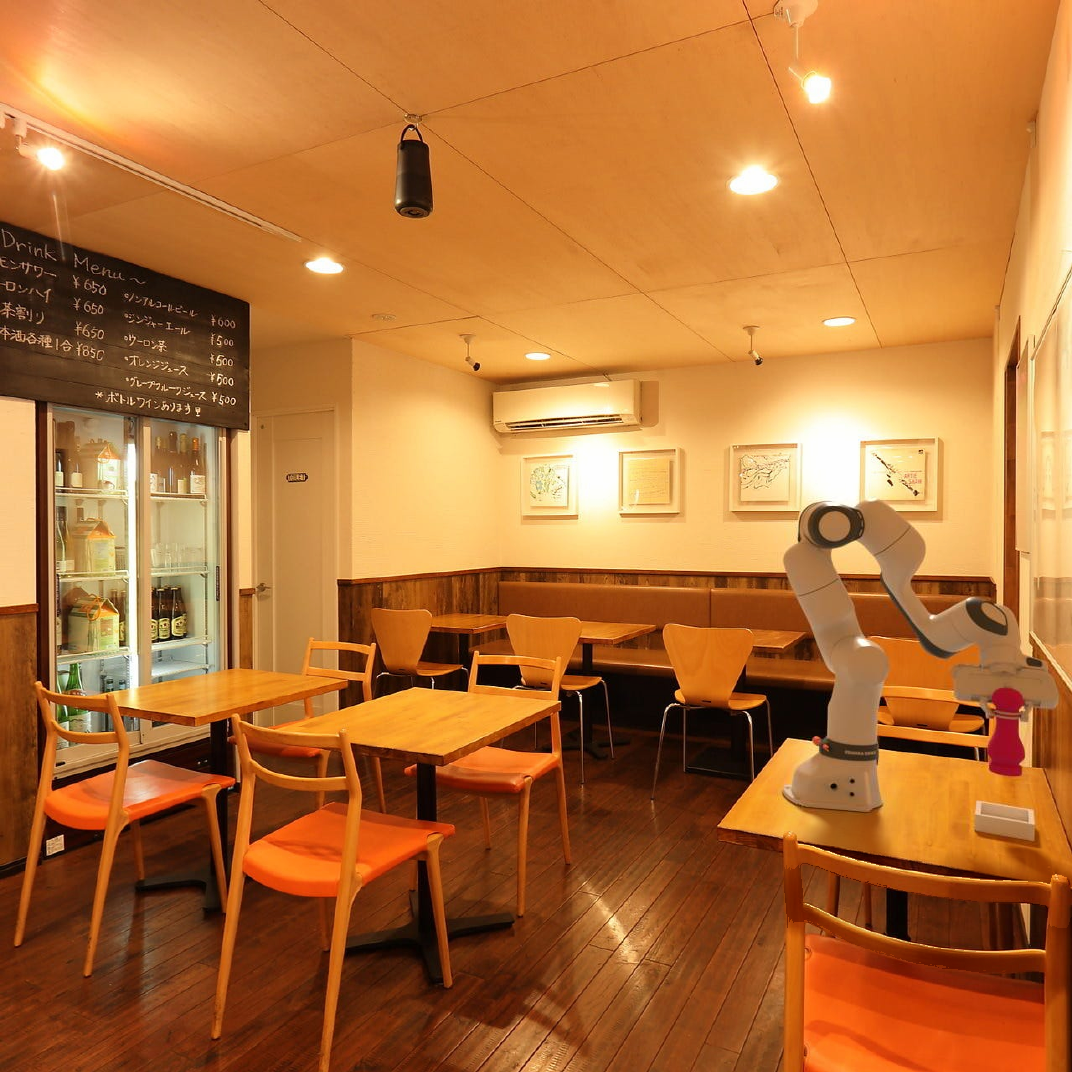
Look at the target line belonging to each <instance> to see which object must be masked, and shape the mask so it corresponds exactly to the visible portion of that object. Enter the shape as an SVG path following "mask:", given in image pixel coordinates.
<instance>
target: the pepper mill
mask: <svg viewBox="0 0 1072 1072" xmlns="http://www.w3.org/2000/svg"><path fill="white" fill-rule="evenodd" d="M1003 685H1004V687H1005V688H999V689H997V690H995V691H994V693H993V695H992V703H993V704H992V705H994V706H995V708H994V713H995V728H994V732H993V734H992V736H991V737H990V739H989V741H988V742H987V743H988V744H987V748H986V753H987V755H988V757H989V758H990V759H991V760H990V761H989V762H988V770H989V772H990V773H993V774H996V775H1000V776H1005V777H1021V776H1022V775H1023V766H1022V765H1020V764H1021V763H1022V762H1023V761H1024V760H1025V758H1026V752H1025V751H1026V750H1025V746H1024V744H1023V742H1022V740H1021V737H1020V735H1019V728H1018V722H1019V720H1020V714H1021V713H1020V710H1021V708H1023V707H1024V706H1023V703H1024V701H1023V696H1022V694H1021V693H1020V692H1019V691H1017V690H1015V689H1012V686H1013V684H1012V682H1010V681H1005V682H1004V683H1003Z"/></svg>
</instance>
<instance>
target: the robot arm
mask: <svg viewBox="0 0 1072 1072" xmlns="http://www.w3.org/2000/svg"><path fill="white" fill-rule="evenodd" d="M797 527H798V529H797V530H798V531H797V543H795V544H794V545H792V546H791V547H789V548H788V549H787V550H786V552H785V553H784V555H783V559H782V562H783V565H784V570H785V573H786V576H787V579H788V582H789V584H790V587H791V589H792V591H793V594H794V596H795V598H796V599H797V601H798V603H799V605H800V607H801V609H802V611H803V613H804V615H805V617H806V619H807V621H808V623H809V625H810V628H811V630H812V633H813V636H814V639H815V642H816V645H817V647H818V650H819V651H820V655H821V657H822V659H823V662H824V664H825V666H826V667H827V668H828V671H830V672H831V673H833V674H834V684H833V685H834V686H833V690H832V693H831V698H830V700H829V703H828V705H827V730H826V731H827V735H826V736H825V737H824V738H823V739H822V738H820V737H819V736H814V737H812V740H811V741H812V744H814V746H816V747H818V752H817V753H815V754H814V755H813V756H811V757H809V758H808V759H807V760H805V761H803V762H802V763H800V764H799V765H797V766H796V768H795V769H794V772H793V777H792V781H791V784H785V785H783V787H782V794H783V795H784V796H785V798H786V799H787V800H789V801H790V802H792V803H793V804H795V805H798V804H799V805H798V806H800V805H801V806H800V807H804V806H805V807H806V808H817V809H825V810H826V809H829V810H837V811H838V810H839V811H840V810H842V811H851V812H852V811H853V812H864V813H869V812H871V811H872V809H874V808H879V807H880V806H882V805H883V798H882V795H881V790H880V784H879V778H878V777H879V775H878V765H879V758H880V750H879V749H880V748H879V747H880V745H879V742H878V720H879V719H878V716H879V706H880V701H881V698H882V692H883V689H884V684H885V680H886V679H887V678H888V675H889V673H890V667H891V665H890V664H891V663H890V660H889V657H888V655H887V654H886V652H885V651H884V650H883V648H882V647H881V646H880V645H879V644H877V643H876V642H874V641H872V640H870V639H868V638H866V636H865V635H864V634H863V632H862V629H861V626H860V623H859V621H858V617H857V614H856V610H855V609H856V608H855V605H854V603H853V601H852V598H851V596H850V594H849V593H848V591H847V589H846V586H845V585H844V583H843V581H842V578H841V577H840V575H839V573H838V571H837V570H836V568H835V566H834V562H833V559H832V551H833V550H834V549H838V548H839V549H840V548H842V547H845V546H847V545H849V544H850V543H852V542H855V541H856V542H858V543H859V544H861V545H862V546H864V548H865V550H867V551H868V553H870V554H871V555H872V557H873V558H874V559H875V560H876V562H877V564H878V565H879V568H880V574H879V580H880V582H881V585H882V587H883V589H885V592H886V593H887V595H888V596H889V598H890V599H891V600H892V603H894V605H895V606H896V608H897V609H898V611H900V613H901V615H902V616H903V618H904V619H905V621H906V622H907V624H908V625H909V626H910V627H911V629H912V631H913V632H914V635H916V638H917V639H918V642H919V644H920V645H921V647H922V649H923V650H924V651H925V652H926V653H927V654H929V655H931V656H933V657H936V658H938V659H944V660H949V659H950V658H951V657H953V656H955V655H956V654H958V653H960V652H961V651H962V650H964V649H967V648H969V647H971V646H973V645H977V646H978V647H979V648H980V649H979V653H978V659H979V664H966V663H958V664H956V665H954V666H952V667H951V671H950V672H951V677H952V678H953V679H954V686H953V697H954V698H955V699H956V700H957V701H960V702H972V703H979V707H980V708H981V709H982V710H983V712H984V713H985V718H986V719H989V720H990V719H993V720H994V719H995V718H996V716H995V713H994V712H995V711H994V709H995V708H994V707H993V708H992V707H990V705H988V704H992V705H994V704H993V703H992V695H993V693H994V691H995V690H997V689H999V688H1005V687H1004V685H1003V683H1004V682H1005V681H1010V682H1012V684H1013V686H1012V689H1015V690H1017V691H1019V692H1020V693H1021V694H1022V696H1023V701H1024V703H1023V706H1022V707H1023V710H1019V712H1020V713H1021V714H1020V719H1019V722H1022V723H1028V722H1029V718H1030V717H1029V716H1030V713H1031V712H1032V711H1033V708H1037V709H1038V708H1039V709H1047V710H1054V709H1056V707H1057V706H1058V705H1059V701H1060V695H1059V689H1058V685H1057V683H1056V681H1055V678H1054V676H1053V675H1052V674H1051V673H1050V672H1049V664H1048V662H1047V661H1045V660H1042V659H1038V658H1035V657H1032V656H1029V655H1028V654H1027V655H1026V654H1024V653H1023V651H1022V650H1021V645H1022V640H1021V639H1022V638H1021V633H1020V628H1019V624H1018V621H1017V618H1016V616H1015V614H1014V612H1013V611H1012V610H1011V609H1010V608H1009V607H1007V606H1005V605H1002V604H998V603H992V602H990V601H988V600H986V599H983V598H980V597H974V596H971V597H968V598H966V599H964V600H962V601H960V602H958V603H956V604H954V605H953V606H951V607H950V608H947V609H946V610H943V611H942V612H940V613H938V614H931V613H930V612H929V611H928V610H927V608H926V607H925V606H924V604H923V603H922V601H921V600H920V598H919V597H918V596H917V594H916V593H915V591H914V590H913V588H912V585H911V583H912V582H911V581H912V580H913V579H912V578H913V577H914V576H915V574H916V573H917V571H918V570H919V568H920V567H921V565H922V563H923V561H924V560H925V556H926V551H927V550H926V547H927V546H926V542H925V540H924V538H923V536H922V535H921V533H919V531H918V530H917V529H916V528H915V527H914V525H912V524H911V523H910V522H909V521H908V520H907V519H906V518H904V516H903V515H901V513H899V512H898V511H897V510H895V508H893V507H892V506H890V505H889V504H888V503H886V502H885V501H883V500H881V499H880V498H876V497H875V498H874V497H873V498H866V499H864V500H862V501H860V502H858V503H857V504H856V505H855V506H854V507H852V506H849V505H846V504H842V503H839V502H834V501H831V500H822V501H816V502H813V503H811V504H809V505H808V506H806V507H805V508H804V509H803V510H802V512H801V514H800V517H799V519H798V526H797ZM805 807H804V808H805Z"/></svg>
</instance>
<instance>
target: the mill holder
mask: <svg viewBox="0 0 1072 1072" xmlns="http://www.w3.org/2000/svg"><path fill="white" fill-rule="evenodd" d="M1034 814H1035V813H1034V809H1030V808H1024V807H1017V806H1012V805H1005V804H1001V803H994V802H988V801H982V800H976V804H975V811H974V830H976V831H975V832H979V831H980V833H986V834H990V835H991V834H992V835H998V836H1002V837H1007V838H1008V837H1009V838H1013V839H1020V840H1023V841H1024V840H1025V841H1029V842H1035V836H1036V835H1035V831H1036V830H1035V829H1036V827H1035V826H1036V823H1035V815H1034Z"/></svg>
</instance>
